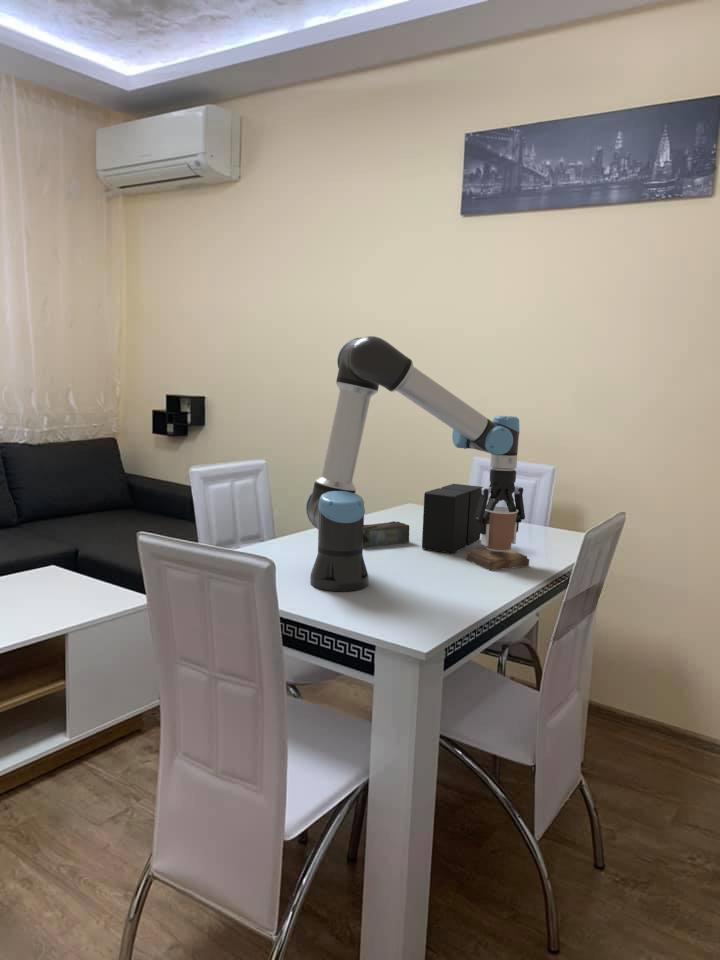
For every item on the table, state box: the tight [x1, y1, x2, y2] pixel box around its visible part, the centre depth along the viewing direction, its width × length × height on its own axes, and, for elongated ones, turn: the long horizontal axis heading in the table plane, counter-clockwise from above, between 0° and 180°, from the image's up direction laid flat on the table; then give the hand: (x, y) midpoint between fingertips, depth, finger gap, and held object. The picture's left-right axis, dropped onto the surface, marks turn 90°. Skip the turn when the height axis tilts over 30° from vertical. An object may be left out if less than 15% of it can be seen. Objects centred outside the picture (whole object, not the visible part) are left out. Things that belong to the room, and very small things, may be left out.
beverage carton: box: [363, 521, 410, 548], centre depth 228 cm, size 8×19×7 cm, turn 118°
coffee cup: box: [485, 505, 518, 552], centre depth 206 cm, size 10×10×12 cm
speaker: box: [421, 483, 484, 554], centre depth 228 cm, size 25×11×19 cm, turn 150°
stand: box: [465, 548, 530, 571], centre depth 208 cm, size 14×12×3 cm
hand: (498, 543), depth 207 cm, fingers closed on coffee cup, 9 cm apart
